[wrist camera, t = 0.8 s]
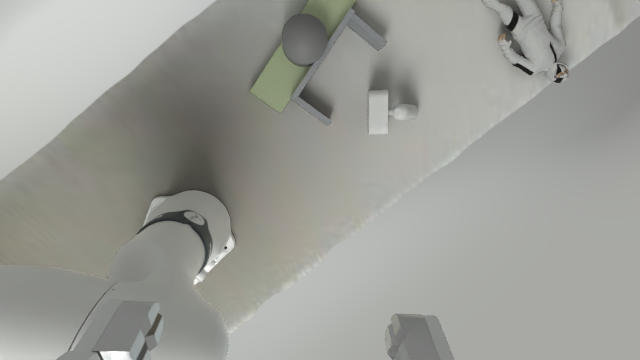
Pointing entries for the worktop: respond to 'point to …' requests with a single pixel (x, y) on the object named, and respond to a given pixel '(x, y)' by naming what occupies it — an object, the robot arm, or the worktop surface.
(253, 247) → the worktop surface
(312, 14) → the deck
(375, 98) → the wall hook
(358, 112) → the worktop surface
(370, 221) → the worktop surface
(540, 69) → the figurine
